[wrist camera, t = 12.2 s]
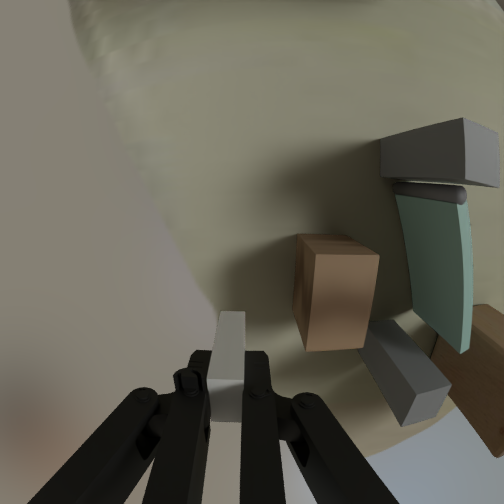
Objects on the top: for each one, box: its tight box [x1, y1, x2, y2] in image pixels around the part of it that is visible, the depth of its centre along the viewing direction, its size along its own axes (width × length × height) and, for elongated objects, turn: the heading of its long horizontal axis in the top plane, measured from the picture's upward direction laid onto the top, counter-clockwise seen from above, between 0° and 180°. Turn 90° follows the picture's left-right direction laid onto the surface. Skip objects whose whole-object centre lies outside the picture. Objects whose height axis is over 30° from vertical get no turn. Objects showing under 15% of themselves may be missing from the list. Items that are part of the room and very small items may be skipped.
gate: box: [393, 182, 473, 354], centre depth 22 cm, size 15×1×10 cm, turn 19°
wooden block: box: [430, 304, 504, 458], centre depth 21 cm, size 10×10×20 cm
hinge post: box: [380, 118, 500, 188], centre depth 19 cm, size 4×4×13 cm
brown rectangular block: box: [292, 234, 380, 352], centre depth 24 cm, size 8×5×8 cm, turn 179°
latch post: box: [358, 320, 452, 427], centre depth 23 cm, size 4×4×13 cm
